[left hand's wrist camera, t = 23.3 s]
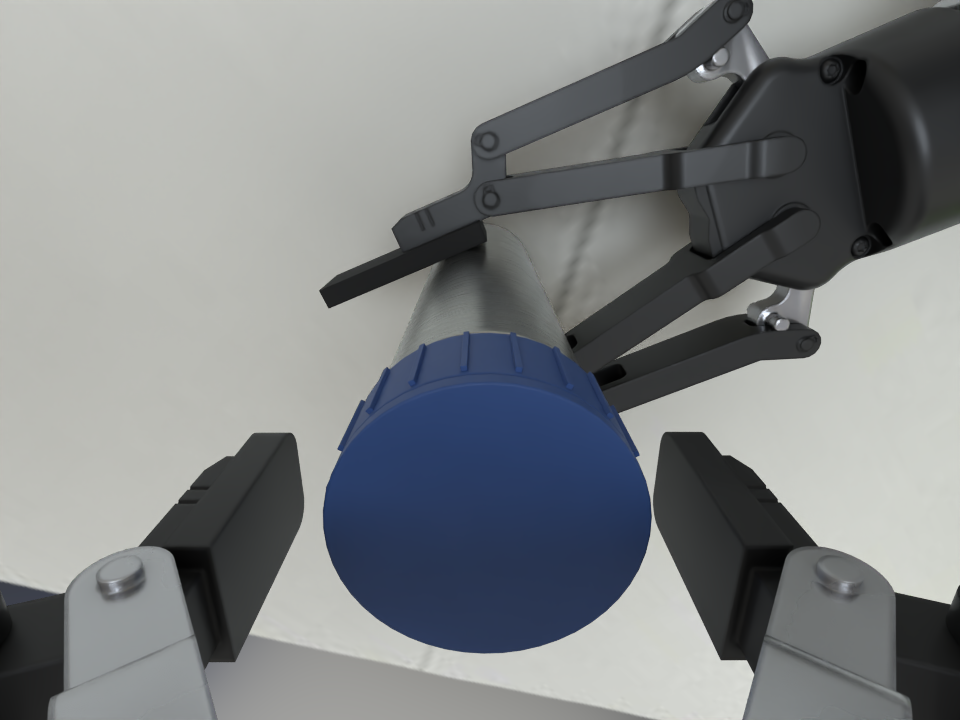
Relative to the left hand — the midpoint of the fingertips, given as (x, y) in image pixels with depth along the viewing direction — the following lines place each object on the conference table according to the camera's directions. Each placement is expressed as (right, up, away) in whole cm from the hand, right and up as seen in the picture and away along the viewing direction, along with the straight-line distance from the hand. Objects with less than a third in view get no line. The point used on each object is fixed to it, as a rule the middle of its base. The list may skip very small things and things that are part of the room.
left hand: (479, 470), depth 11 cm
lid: (0, 0, -2) cm, 2 cm away
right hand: (-5, +3, +11) cm, 12 cm away
